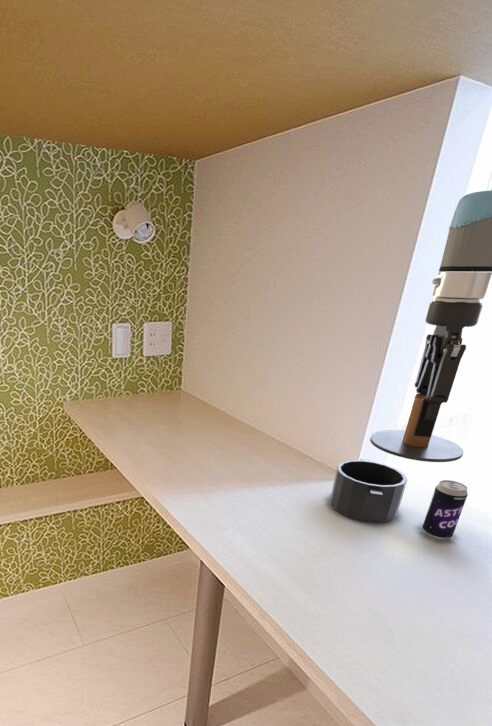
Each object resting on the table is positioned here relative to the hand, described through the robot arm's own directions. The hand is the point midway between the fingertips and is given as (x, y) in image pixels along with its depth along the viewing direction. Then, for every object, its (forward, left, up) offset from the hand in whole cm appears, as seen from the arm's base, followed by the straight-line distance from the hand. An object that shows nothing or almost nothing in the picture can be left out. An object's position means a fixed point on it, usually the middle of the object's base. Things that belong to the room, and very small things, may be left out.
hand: (418, 431), depth 83 cm
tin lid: (0, 0, -3) cm, 3 cm away
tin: (+4, -13, -25) cm, 28 cm away
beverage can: (-11, -6, -25) cm, 27 cm away
